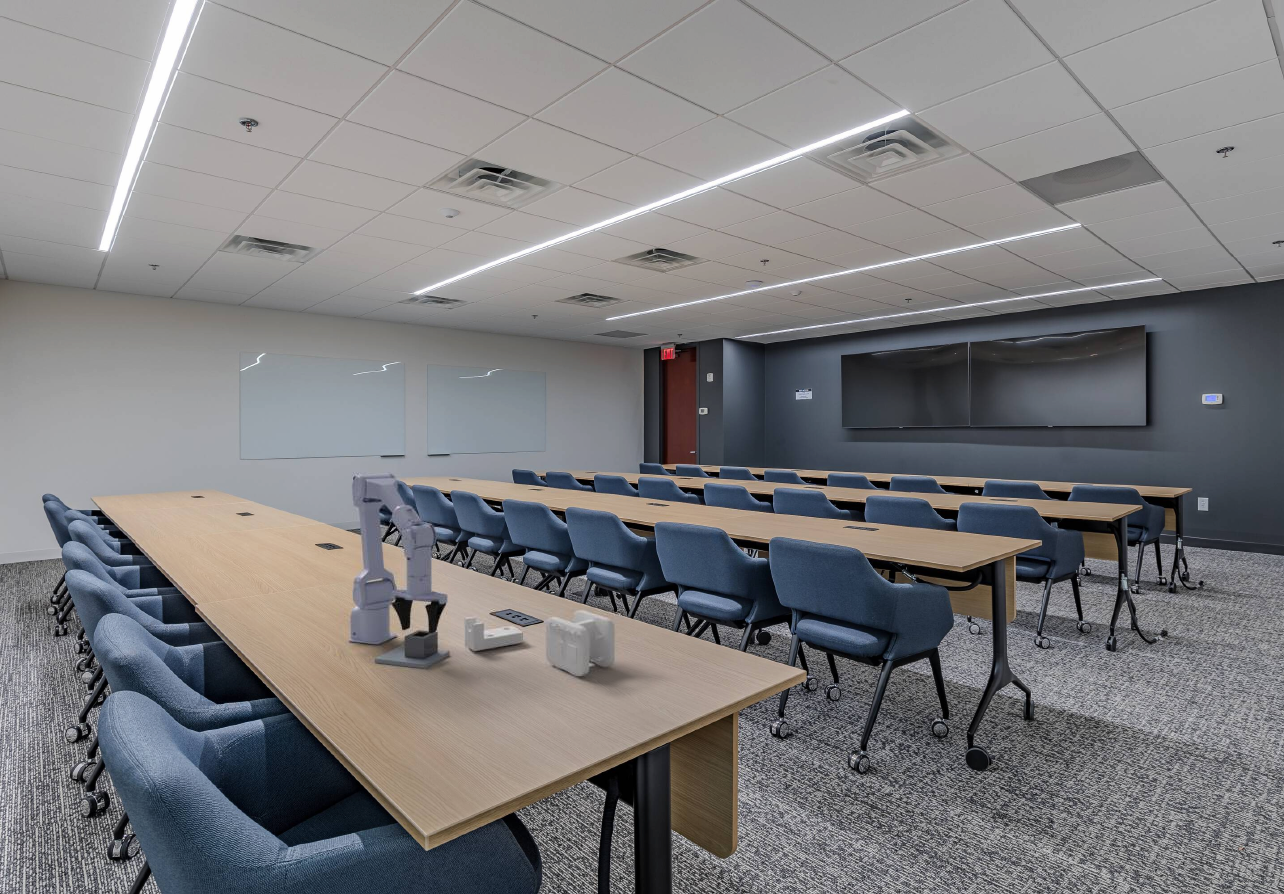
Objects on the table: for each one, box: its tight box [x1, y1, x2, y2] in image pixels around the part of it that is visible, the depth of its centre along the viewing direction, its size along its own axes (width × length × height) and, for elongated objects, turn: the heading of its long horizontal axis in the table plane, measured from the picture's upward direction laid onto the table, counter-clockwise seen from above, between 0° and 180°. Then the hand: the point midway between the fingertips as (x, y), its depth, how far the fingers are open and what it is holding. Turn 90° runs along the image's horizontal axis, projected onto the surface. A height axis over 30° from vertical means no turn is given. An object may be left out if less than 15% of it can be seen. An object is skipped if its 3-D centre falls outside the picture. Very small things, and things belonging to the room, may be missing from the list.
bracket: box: [464, 616, 524, 652], centre depth 174 cm, size 13×7×8 cm, turn 122°
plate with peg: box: [374, 645, 450, 670], centre depth 164 cm, size 14×10×4 cm
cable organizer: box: [545, 609, 616, 677], centre depth 158 cm, size 15×11×12 cm
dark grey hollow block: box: [404, 629, 439, 659], centre depth 164 cm, size 6×6×5 cm
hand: (419, 630), depth 163 cm, fingers open, 7 cm apart
